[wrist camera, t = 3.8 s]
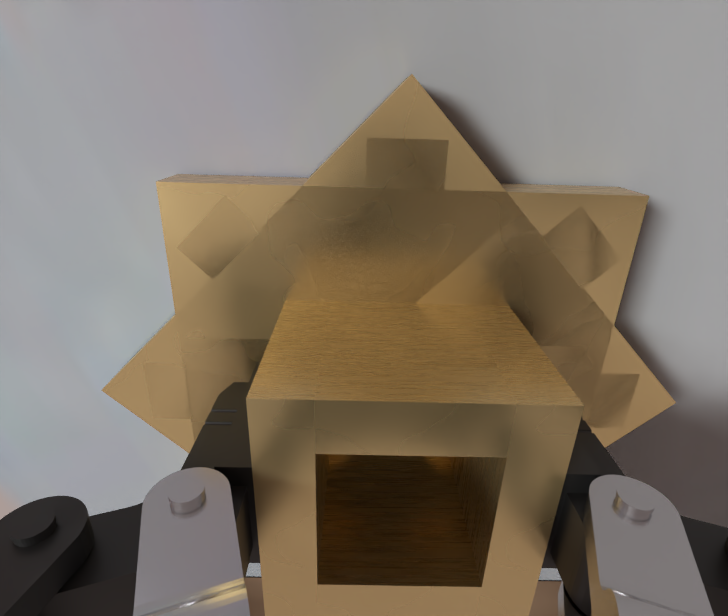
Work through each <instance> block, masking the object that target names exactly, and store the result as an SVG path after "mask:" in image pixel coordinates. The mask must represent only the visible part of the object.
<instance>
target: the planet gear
mask: <svg viewBox="0 0 728 616" xmlns="http://www.w3.org/2000/svg"><path fill="white" fill-rule="evenodd" d="M156 186H157V192H158V199H159V206H160V213H161V219H162V226H163V233H164V240H165V246H166V253H167V260H168V267H169V274H170V280H171V287H172V294H173V301H174V307H175V315H174V316H173V317H172V318H171V319H170V320H169V321H168V322H167V323H166V324H165V325H164V326H163V327H162V328H161V329H160V330H159V331H158V332H157V333H156V334H155V335H154V336H153V337H152V338H151V339H150V340H149V341H148V342H147V343H146V344H145V345H144V346H143V347H142V348H141V349H140V350H139V351H138V352H137V353H136V354H135V355H134V356H133V357H132V358H131V359H130V360H129V362H128V363H127V364H126V365H125V366H124V367H123V368H122V369H121V370H120V371H119V372H118V373H117V374H116V375H115V376H114V377H113V378H112V380H111V381H110V382H109V383H108V384H107V385H106V386H105V387H104V388H103V389H102V391H103V392H105V393H106V394H107V395H109V396H110V397H111V398H113V399H114V400H116V401H117V402H118V403H120V404H121V405H123V406H124V407H125V408H127V409H128V410H130V411H131V412H132V413H134V414H135V415H137V416H138V417H139V418H141V419H142V420H143V421H145V422H146V423H148V424H149V425H150V426H152V427H153V428H155V429H156V430H157V431H159V432H160V433H162V434H163V435H164V436H166V437H167V438H169V439H170V440H171V441H173V442H174V443H175V444H177V445H178V446H180V447H181V448H182V449H184V450H185V451H187V452H188V453H190V451H191V449H192V447H193V445H194V443H195V441H196V439H197V437H198V435H199V433H200V431H201V429H202V427H203V425H205V421H206V419H207V417H208V415H209V413H210V412H211V409H212V407H213V405H214V403H215V401H216V399H217V397H218V395H219V394H220V393H221V392H222V391H224V390H225V389H226V388H227V387H228V386H230V385H231V384H232V383H233V382H249V380H250V378H251V376H252V373H253V371H254V368H255V366H256V364H257V362H260V365H259V367H258V370H257V372H256V375H255V377H254V380H253V382H252V385H251V387H250V390H249V392H248V395H247V397H246V405H247V417H248V428H249V440H250V451H251V462H252V474H253V485H254V496H255V508H256V519H257V531H258V542H259V553H260V565H261V576H262V588H263V599H264V610H265V616H529V613H530V609H531V606H532V602H533V598H534V594H535V590H536V587H537V583H538V579H539V575H540V572H541V568H542V564H543V560H544V556H545V553H546V549H547V545H548V541H549V538H550V534H551V530H552V526H553V523H554V519H555V515H556V511H557V507H558V504H559V500H560V496H561V492H562V489H563V485H564V481H565V477H566V473H567V470H568V466H569V462H570V458H571V455H572V451H573V447H574V443H575V440H576V436H577V432H578V428H579V424H580V421H581V417H583V418H582V419H583V420H585V421H586V423H587V424H588V426H589V427H590V428H591V430H592V433H594V434H595V435H596V437H597V438H598V439H599V441H600V442H601V443H602V445H603V446H604V448H605V447H607V446H609V445H610V444H612V443H613V442H615V441H616V440H618V439H620V438H621V437H623V436H624V435H626V434H628V433H629V432H631V431H632V430H634V429H635V428H637V427H639V426H640V425H642V424H643V423H645V422H647V421H648V420H650V419H651V418H653V417H654V416H656V415H658V414H659V413H661V412H662V411H664V410H666V409H667V408H669V407H670V406H672V405H673V404H675V403H676V402H675V401H674V400H673V398H672V397H671V396H670V395H669V393H668V392H667V391H666V390H665V388H664V387H663V386H662V385H661V383H660V382H659V381H658V380H657V378H656V377H655V376H654V375H653V373H652V372H651V371H650V370H649V368H648V367H647V366H646V365H645V363H644V362H643V361H642V360H641V359H640V357H639V356H638V355H637V354H636V352H635V351H634V350H633V349H632V347H631V346H630V345H629V344H628V342H627V341H626V340H625V339H624V337H623V336H622V335H621V334H620V332H619V331H618V330H617V329H616V327H615V326H614V324H615V320H616V316H617V313H618V309H619V305H620V302H621V298H622V294H623V291H624V287H625V283H626V280H627V276H628V272H629V269H630V265H631V261H632V258H633V254H634V250H635V247H636V243H637V239H638V236H639V232H640V228H641V225H642V221H643V217H644V214H645V210H646V206H647V203H648V199H649V196H648V195H645V194H641V193H638V192H634V191H631V190H627V189H624V188H621V187H603V186H569V185H535V184H500V183H499V182H498V180H497V179H496V178H495V177H494V176H493V174H492V173H491V172H490V171H489V169H488V168H487V167H486V166H485V164H484V163H483V162H482V161H481V159H480V158H479V157H478V156H477V154H476V153H475V152H474V151H473V149H472V148H471V147H470V146H469V144H468V143H467V142H466V141H465V139H464V138H463V137H462V136H461V134H460V133H459V132H458V131H457V129H456V128H455V127H454V126H453V124H452V123H451V122H450V121H449V119H448V118H447V117H446V116H445V115H444V113H443V112H442V111H441V110H440V108H439V107H438V106H437V105H436V103H435V102H434V101H433V100H432V98H431V97H430V96H429V95H428V93H427V92H426V91H425V90H424V88H423V87H422V86H421V85H420V83H419V82H418V81H417V80H416V78H415V77H414V76H413V75H412V74H411V75H410V76H409V77H407V78H406V79H405V80H404V81H403V82H402V83H401V84H400V85H399V86H398V87H397V88H396V89H395V90H394V91H393V92H392V93H391V94H390V95H389V96H388V97H387V98H386V99H385V100H384V101H383V102H382V104H381V105H380V106H379V107H378V108H377V109H376V110H375V111H374V112H373V113H372V114H371V115H370V116H369V117H368V118H367V119H366V120H365V121H364V122H363V123H362V124H361V125H360V126H359V127H358V128H357V129H356V130H355V131H354V132H353V133H352V134H351V135H350V136H349V137H348V138H347V139H346V140H345V141H344V142H343V143H342V144H341V145H340V146H339V147H338V148H337V149H336V150H335V151H334V152H333V153H332V155H331V156H330V157H329V158H328V159H327V160H326V161H325V162H324V163H323V164H322V165H321V166H320V167H319V168H318V169H317V170H316V171H315V172H314V173H313V174H312V175H311V176H310V177H309V178H296V177H261V176H227V175H193V174H177V175H174V176H171V177H168V178H165V179H162V180H159V181H156Z"/></svg>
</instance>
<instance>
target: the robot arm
mask: <svg viewBox="0 0 728 616" xmlns="http://www.w3.org/2000/svg"><path fill="white" fill-rule="evenodd" d="M259 365H260V362H257V364H256V366H255V368H254V371H253V373H252V376H251V378H250V380H249V382H233V383H232V384H231V385H230V386H228V387H227V388H226V389H225V390H224V391H222V392H221V393H220V394H219V395H218V397H217V399H216V401H215V403H214V405H213V407H212V409H211V412H210V413H209V415H208V417H207V419H206V421H205V425H203V427H202V429H201V431H200V433H199V435H198V437H197V439H196V441H195V443H194V445H193V447H192V449H191V451H190V453H189V455H188V457H187V459H186V461H185V463H184V465H183V467H182V469H181V470H180V471H177V472H175V473H172V474H170V475H168V476H167V477H165V478H163V479H162V480H160V481H159V482H158V483H157V484H156V485H154V486H153V487H152V489H151V490H150V491H149V492H148V494H147V495H146V497H145V499H144V501H143V503H140V504H138V505H135V506H131V507H128V508H124V509H119V510H115V511H111V512H106V513H102V514H98V515H94V516H89V515H88V511H87V509H86V506H85V505H84V503H83V502H82V501H80V500H78V499H76V498H73V497H69V496H53V497H47V498H43V499H39V500H36V501H33V502H31V503H28V504H26V505H23V506H21V507H20V508H18V509H16V510H14V511H12V512H11V513H9V514H8V515H6V516H5V517H3V518H2V519H1V520H0V616H250V611H249V604H248V597H247V591H246V585H245V583H244V580H245V576H246V572H247V568H248V564H249V563H260V553H259V542H258V531H257V519H256V508H255V496H254V485H253V474H252V462H251V451H250V440H249V428H248V417H247V405H246V397H247V395H248V392H249V390H250V387H251V385H252V382H253V380H254V377H255V375H256V372H257V370H258V367H259ZM582 418H583V417H581V421H580V424H579V428H578V432H577V436H576V440H575V443H574V447H573V451H572V455H571V458H570V462H569V466H568V470H567V473H566V477H565V481H564V485H563V489H562V492H561V496H560V500H559V504H558V507H557V511H556V515H555V519H554V523H553V526H552V530H551V534H550V538H549V541H548V545H547V549H546V553H545V556H544V560H543V564H542V568H557V569H558V572H559V574H560V576H561V579H562V582H561V585H560V589H559V592H558V616H728V528H725V527H722V526H718V525H714V524H710V523H706V522H702V521H698V520H694V519H690V518H687V517H683V516H680V515H679V513H678V511H677V509H676V508H675V506H674V505H673V504H672V503H671V502H670V500H669V499H667V498H666V497H665V496H664V495H663V494H662V493H660V492H659V491H658V490H656V489H654V488H653V487H651V486H650V485H648V484H646V483H644V482H641V481H639V480H636V479H634V478H630V477H627V476H625V475H624V474H623V473H622V471H621V470H620V468H619V467H618V466H617V464H616V463H615V461H614V460H613V459H612V457H611V456H610V455H609V453H608V452H607V450H606V449H605V448H604V446H603V445H602V443H601V442H600V441H599V439H598V438H597V437H596V435H595V434H594V433H592V430H591V428H590V427H589V426H588V424H587V423H586V421H585V420H583V419H582Z"/></svg>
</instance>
